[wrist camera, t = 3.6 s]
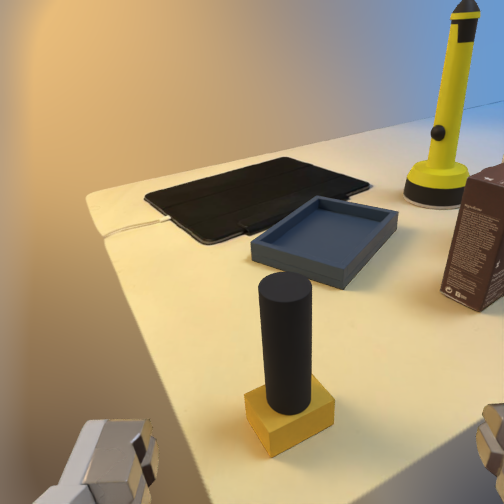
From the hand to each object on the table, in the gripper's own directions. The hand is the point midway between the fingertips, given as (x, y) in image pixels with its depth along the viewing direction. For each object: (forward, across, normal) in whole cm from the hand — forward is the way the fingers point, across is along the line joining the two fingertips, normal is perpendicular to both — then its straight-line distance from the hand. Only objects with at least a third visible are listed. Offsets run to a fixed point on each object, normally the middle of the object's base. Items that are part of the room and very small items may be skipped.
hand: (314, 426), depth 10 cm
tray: (+37, -6, +16) cm, 41 cm away
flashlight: (+50, -24, +16) cm, 57 cm away
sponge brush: (+12, 0, +16) cm, 20 cm away
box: (+26, -19, +16) cm, 36 cm away
